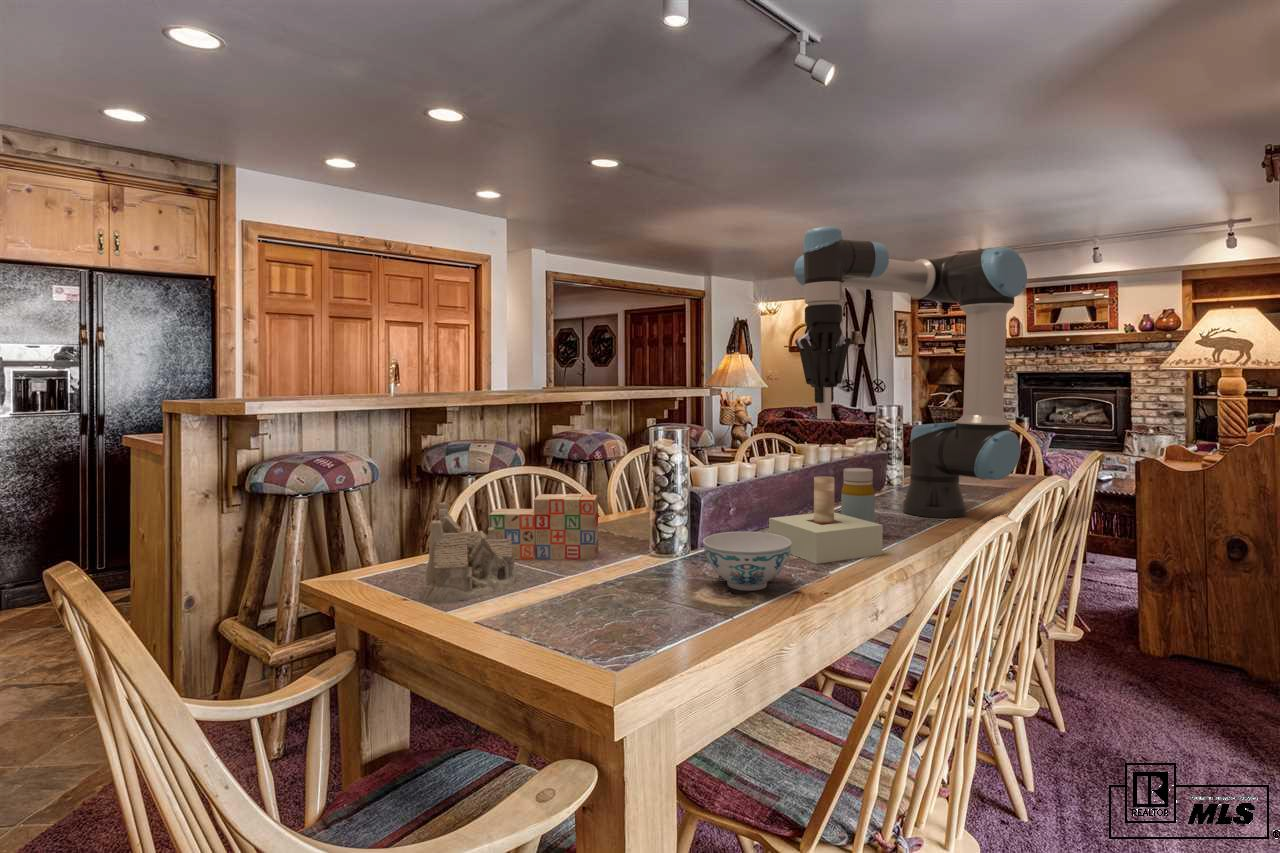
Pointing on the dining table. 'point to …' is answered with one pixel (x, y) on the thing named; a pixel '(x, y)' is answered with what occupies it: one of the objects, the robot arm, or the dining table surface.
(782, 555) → the chinaware
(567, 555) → the stack of blocks
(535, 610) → the dining table surface
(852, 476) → the bottle
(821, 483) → the ash dowel
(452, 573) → the ceramic cottage
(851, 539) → the sage socket block
